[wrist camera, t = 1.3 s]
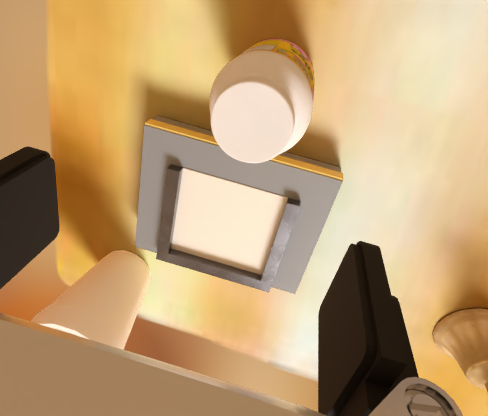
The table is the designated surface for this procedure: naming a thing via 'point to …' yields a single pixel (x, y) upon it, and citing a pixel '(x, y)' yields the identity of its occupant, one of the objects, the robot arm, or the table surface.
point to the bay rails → (215, 267)
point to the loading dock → (232, 201)
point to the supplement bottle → (262, 101)
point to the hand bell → (466, 342)
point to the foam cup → (101, 300)
